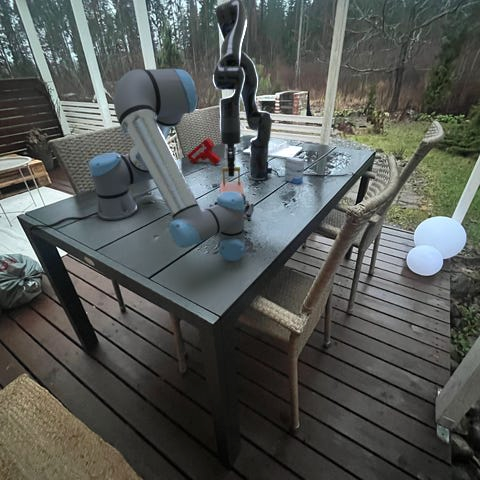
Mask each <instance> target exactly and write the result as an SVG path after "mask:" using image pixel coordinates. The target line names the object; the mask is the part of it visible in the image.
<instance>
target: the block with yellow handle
mask: <svg viewBox="0 0 480 480" xmlns="http://www.w3.org/2000/svg"><path fill="white" fill-rule="evenodd" d="M221 171H222V181H220V182H219V183H220V185H219V192H218V193H219V194H218V196H219V195H220V194H221V193H223V192H230V191H231V192H237V193H239V194H241V195H242V196H245V192H244V182H243V181H241V166H234V172H237V181H226V175H225V174H226V173H225V172H228V166H222V167H221Z"/></svg>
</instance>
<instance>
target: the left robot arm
mask: <svg viewBox="0 0 480 480" xmlns="http://www.w3.org/2000/svg"><path fill="white" fill-rule="evenodd" d="M197 105H198V94H197V89H196V85H195V82H194V80H193V78H192V77H191V75H190V74H189V72H187V71H186V70H184V69H180V68H173V67H172V68H156V69H155V68H153V69H152V68H151V69H142V68H139V69H131V70H129V71H128V72H126V73H124V75H123V76H122V77H120V79H119V80H118V82H117V84H116V87H115V90H114V95H113V107H114V112H115V117H116V120H117V122H118V123H119V126H120V127H121V129H122V131H123V132H124V133H126V134H128V135H129V136H130V138H131V140H132V142H133V144H134V145H133V146H132V147H130V150H129V152H128V153H127V154H122V155H120V154H119V153H118V152H105V153H102V154H99V155H96V156H94V157H93V158H91V159H90V160H89V162H88V169H89V175H90V176H91V179H92V182H93V185H94V189H95V192H96V195H97V197H98V198H97V212H94V213H91V214H88V215H85V216H80V217H79V216H78V217H77V216H69V217H65V218H62V219H60V220H58V221H56V222H54V223H51V224H34V225H32V226H30V227H29V228H28V231H31V230H33V229H34V228H39V227H40V228H49V227H54V226H56V225H58V224H60V223H63V222H65V221H67V220H83V219H84V220H85V219H87V218H90V217H93V216H96V215H98V217H99V218H100V219H101V220H104V221H120V220H124V219H127V218H129V217H132V216H133V215H135V214H136V213H137V212H138V206H137V203H136V202H137V198H136V197H135V196H132V195H131V194H130V192H129V186H131V185H134V184H139V183H142V182H145V181H149V180H153V182H154V184H155V187H156V188H157V190H158V192H159V194H160V196H161V198H162V200H163V201H164V204H165V205H166V207H167V209H168V211H169V213H170V215H171V217H172V219H173V221H171V222H170V224H169V227H168V228H169V233H170V238H171V239H172V241H173V242H174V243H175V245H176V246H177V247H179V248H181V249H186V248H189V247H192V246H195V245H199V244H200V243H201V242H204V241H206V240H208V239H210V238H212V237H214V236H216V235H219V243H218V250H219V254H220V256H221V258H223V259H224V260H226V261H228V262H235V261H239V260H240V259H242V258H243V257H244V255H245V251H246V250H245V249H246V244H245V221H247V222H252V216H253V213H254V211H255V204H254V203H251V204H250V202H249V200H246V195H244V198H243V196H242V195H241V194H239V193H237V192H231V191H230V192H223V193H221V194H220V195H219V194H218V196H217V197H216V198H217V199H216V200H215V201H214V202H213V203H214V204H209V207H207V208H204V209H202V208H201V206H200V205H199V203H198V201H197V200H196V196H194V193H193V191H192V190H191V188H190V186H189V183H188V181H187V180H186V177H185V176H184V174H183V172H182V170H181V168H180V165H179V164H178V162H177V160H176V158H175V156H174V154H173V152H172V151H171V149H170V146H169V145H168V143H167V138H168V136H169V134H170V133H171V130H172V128H173V127H176V126H178V125H179V124H180V123H181V120H182V118H183V117H184V115H186V114H189V115H190V114H191V113H193V112H195V110H196V109H197Z"/></svg>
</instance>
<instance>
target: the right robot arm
mask: <svg viewBox="0 0 480 480" xmlns="http://www.w3.org/2000/svg"><path fill="white" fill-rule="evenodd" d="M214 10H215V11H214V13H215V19H216V24H217V26H218V29H219V31H220V34H221V38H222V40H223V41H222V43H221V46H220V55H219V56H220V57H219V60H218V62H217V64H216V66H215V68H214V70H213V75H212V77H213V78H212V82H213V84H214V86H215V88H216V89H217V90H220V91H233V93H232V95H230V96H227V97H223V98H220V100H219V115H220V118H219V131H220V143H221V144H223V145H227V146H225V154H226V155H225V156H226V157H225V159H226V162H227V167H228V171H227V172H228V177H235V171H234V167H236V166H235V162H236V153H237V147H236V146H235V145H238V144H240V143H241V118H240V117H241V116H240V113H241V111H240V107H241V105H240V103H241V100H242V104H243V109H244V114H245V119H246V123H247V125H248V128H249V129H250V130H251V131H254V132H256V137H254V138H251V139H250V146H251V148H250V154H249V157H250V158H249V160H250V161H249V165H250V166H249V167H250V168H249V178H250V180H253V181H256V182H257V181H265V180H268V179H269V175H271V174H273V172H274V173H275V174H276V177H278V178H285V175H282V176H280V175H279V172H278V171H277V170H276V169H273V168H272V165H271V164H269V156H268V145H269V141H270V139H271V136H272V135H271V134H272V126H273V125H272V124H273V120H272V115H271V113H270V112H268V111H262V110H259V108H258V105H257V101H256V97H257V96H256V95H257V91H258V85H259V78H258V74H257V70H256V66H255V63H254V62H253V61H252V59H251V58H250V57H249V56H248V55H247V54H246V53H245V52H244V51H243V50H242V44H243V39H244V36H245V33H246V29H247V26H248V25H247V24H248V14H247V9H246V6H245V2H244V1H243V0H229V1H226V2H224V3H220V4H218V5H217V6H216V7H215V9H214ZM351 173H352V174H351V175H352V176H355V174H354V172H351ZM348 175H349V174H347V173H344V174H314V173H313V174H311V173H303V176H310V177H329V178H330V177H331V178H333V177H345V176H348Z"/></svg>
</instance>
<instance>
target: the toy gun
mask: <svg viewBox="0 0 480 480" xmlns="http://www.w3.org/2000/svg"><path fill="white" fill-rule="evenodd" d="M213 148H215V143H214V142H212V140H211V138H209V137H208V138H205V139H204V140H203V141H201V143H199V144H198V145H196V147H195V148H194V149H193V150H191V151H190V152H189V153H188V154H187V155H186V157H187V159H188V160H189V161H190V162H191V163H192V164H194V163H197V162H198V161H199V160H200V159H201V160H202V161H205V160H209V161H210V162H211V163H212V165H213V166H215V165H217V164H219V163H220V160H221V156H220V155H218V154H217V153H216V152H214V151H213Z"/></svg>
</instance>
